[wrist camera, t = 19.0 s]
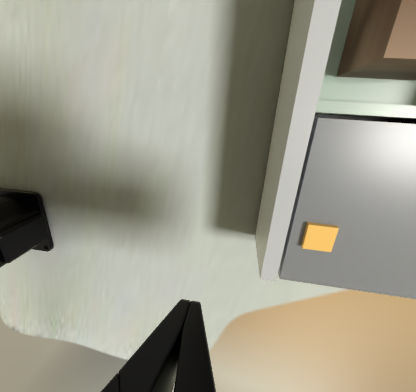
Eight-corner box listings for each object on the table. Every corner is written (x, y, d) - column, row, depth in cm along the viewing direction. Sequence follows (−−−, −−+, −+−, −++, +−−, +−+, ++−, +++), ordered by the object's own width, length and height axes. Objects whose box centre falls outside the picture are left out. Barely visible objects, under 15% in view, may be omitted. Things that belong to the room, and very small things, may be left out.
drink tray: (255, 236, 18) (260, 279, 13) (309, -87, 11) (362, -241, 6) (375, 252, 17) (426, 304, 12) (524, -97, 10) (785, -291, 5)
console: (269, 237, 18) (280, 282, 13) (333, -85, 11) (408, -247, 6) (384, 252, 17) (442, 306, 12) (540, -93, 10) (834, -298, 5)
